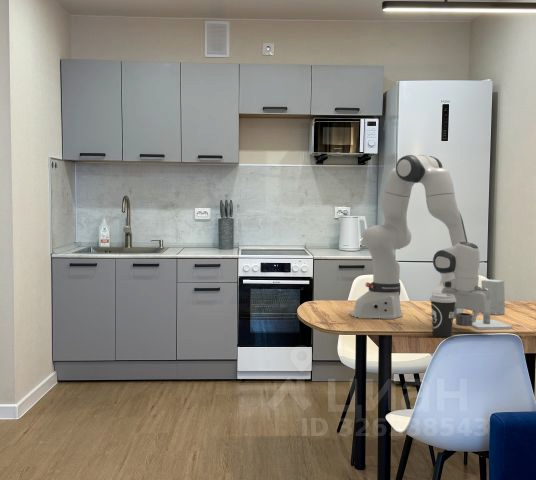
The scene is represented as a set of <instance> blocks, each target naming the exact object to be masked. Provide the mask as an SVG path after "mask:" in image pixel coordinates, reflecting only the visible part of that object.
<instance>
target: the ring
mask: <svg viewBox="0 0 536 480" xmlns="http://www.w3.org/2000/svg"><path fill="white" fill-rule="evenodd" d="M473 315H474V314H473V313H467V312H463V313H457V314H456V319H455V325H456V326H459V327H471V326H472V322H470V317H472V316H473Z"/></svg>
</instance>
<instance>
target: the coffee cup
mask: <svg viewBox="0 0 536 480" xmlns="http://www.w3.org/2000/svg"><path fill="white" fill-rule="evenodd" d="M429 301H430V303H431V317H432V318H431V323H432V325H431V326H432V335H433V336H434V337H438V338H439V337H440V338H450V337H452V333H453V322H454V318H453V316H454V308H455V302H457V301H456V298H455V296H454V295H452V294H445V293H435V294H432V293H431V297H430V298H429ZM449 336H450V337H449Z"/></svg>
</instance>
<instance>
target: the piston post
mask: <svg viewBox="0 0 536 480" xmlns="http://www.w3.org/2000/svg"><path fill="white" fill-rule="evenodd" d="M482 315H483V316H482V317H483V318H482V319H476V322H474V323H473V322H472V326H470V327H471V328H474V330H475V329H476V330H478V331H479V330H480V331H482V330H487V331H488V330H513V326H512V325H510V324H507V323H504V322H501V321H499V320H497V319H491V314H490V311H489V312H487V313H482Z"/></svg>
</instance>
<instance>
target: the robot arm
mask: <svg viewBox="0 0 536 480" xmlns="http://www.w3.org/2000/svg"><path fill="white" fill-rule="evenodd" d="M418 183H419V184H422V186H424V190H425V193H424V194H425V202H426V206H427V207H426V208H427V210H428V212H429V215H431V216H432V217H433V218H435V219H437V220H439V221H441V222H442V223H443V224H444V225H445V226H446V227H447V230H448V233H449V238H450V242H451V247H449V248H448V247H447V248H444V249H441V250H437V251H436V252H435V253H434V256H433V258H432V265H433V268H434V270H435V271H437V272H438V273H439V274H440V273H443V274H449V273H454V274H455V279H453V280H450V281H445V282H443V287H444V288H443V289H442V293H445V294H452V295H454V296H455V298H456V301H457V302H455V308H454V316H453V320H454V319H455V320H456V314H457V311H456V309H457V308H461V309H464V310H467V311H472V315H473V316H472V317H470V322H473V323H474V322H476V320H477V317H478V316H479V315H480V313H481V314H483V313H487V312H489V311H490V292H489V290H487V288H482V286H479V279H480V278H479V269H480V260H481V259H480V258H481V257H480V249H479V246H478V245H476V244H475V243H473V242H468V239H467V238H468V237H467V232H466V230H465V225H464V222H463V221H464V220H463V218H462V215H461V212H460V211H459V208H458V205H457V202H456V195H455V188H454V183H453V180H452V177H451V174H450V171H449V170H448V169H446V168H444V166H443V164H442V161H440V159H438V158H437V157H434V156H432V155H424V154H415V155H413V154H408V155H407V154H406V155H404V156H402V157H400V158H399V159H398V160H397V162H396V165H395V167H394V168H392V169H391V170H390V172H389V174H388V175H387V179H386V182H385V185H384V189H383V190H384V191H383V194H382V199H381V204H380V211H381V212H382V214H383V215H384V224H374V225H372V226H370V227H367V228H366V229H364V231H363V232H362V243H363V245H364V247H365V248H366V249H367V250H368V251H369V254H370V256H371V259H372V267H373V268H372V269H373V273H372V274H373V275H372V276H373V277H372V278H373V281H372V282H371V283H370V282H368V281H367V282H365V287H366V288H368V291H366V292H365V293H363V295H361V296H360V297H358V298H357V299H356V301H355V304H354V310H349V311H348V312H349V313H350V314H349V316H351V315H352V316H351V317H353V316H354V318H356V317H358V318H357V319H372V318H379V319H380V318H381V319H384V320H385V319H386V320H394V319H396V318H400V317H403V312H402V307H401V300H400V299H401V298H400V296H401V283H400V276H401V275H400V271H401V269H400V268H401V267H400V266H401V265H400V263H399V262H398V261H397V260H396V257H395V256H394V250H401V249H403V248H406V247H407V246H408V245H410V243H411V240H412V232H411V230H410V229H409V227H408V220H407V216H408V215H407V214H408V213H407V212H408V207H409V203H410V200H411V199H410V197H411V194H412V189H413V187H414V185H415V184H418ZM379 319H378V320H379ZM381 319H380V320H381Z"/></svg>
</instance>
